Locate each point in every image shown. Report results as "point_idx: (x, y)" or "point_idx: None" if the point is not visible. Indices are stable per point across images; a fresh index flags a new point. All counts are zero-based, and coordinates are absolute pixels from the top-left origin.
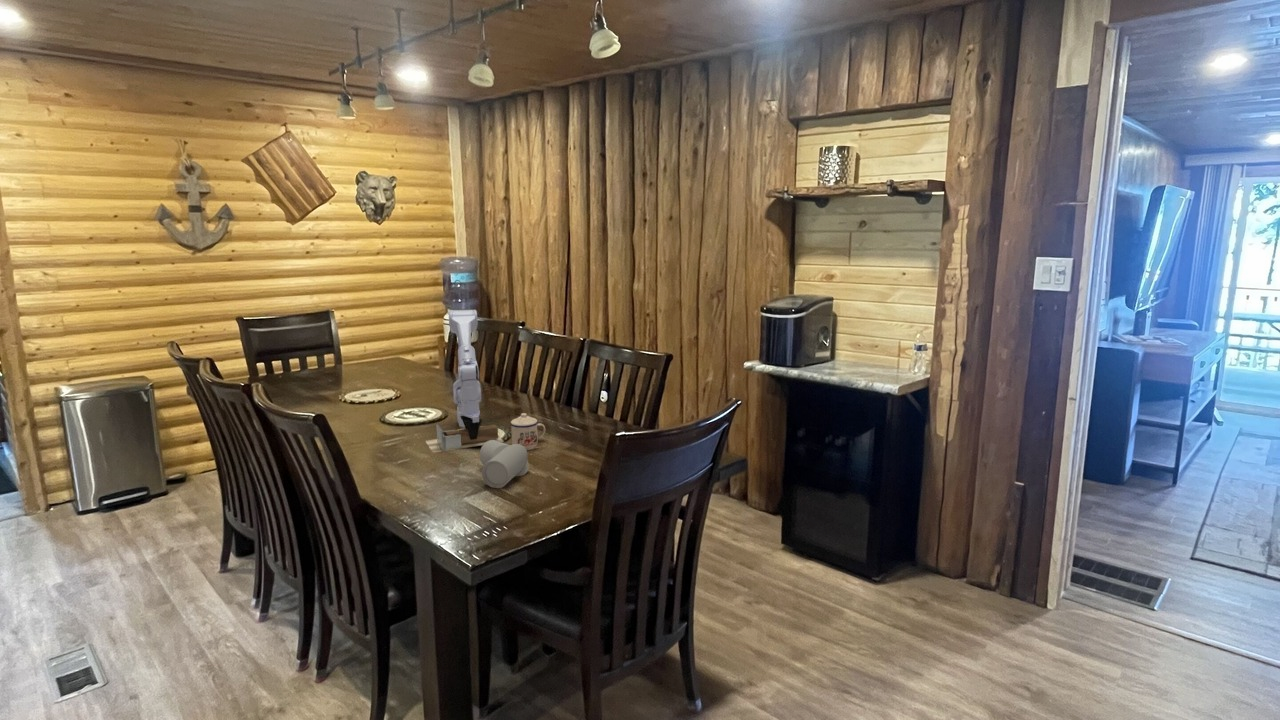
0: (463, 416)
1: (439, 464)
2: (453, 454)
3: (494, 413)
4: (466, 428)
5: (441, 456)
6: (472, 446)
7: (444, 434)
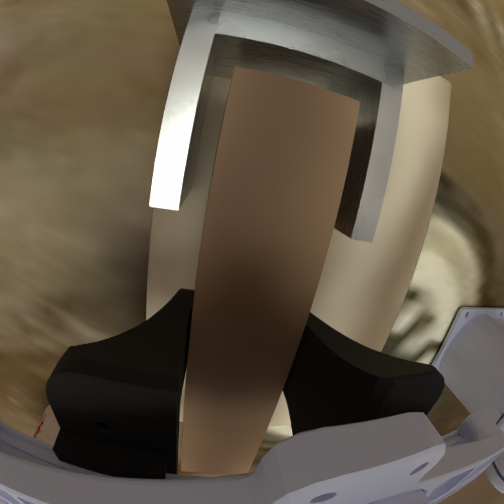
0: (407, 407)
1: (45, 15)
2: (132, 109)
3: (464, 414)
4: (305, 333)
5: (150, 35)
6: (150, 265)
7: (363, 108)
